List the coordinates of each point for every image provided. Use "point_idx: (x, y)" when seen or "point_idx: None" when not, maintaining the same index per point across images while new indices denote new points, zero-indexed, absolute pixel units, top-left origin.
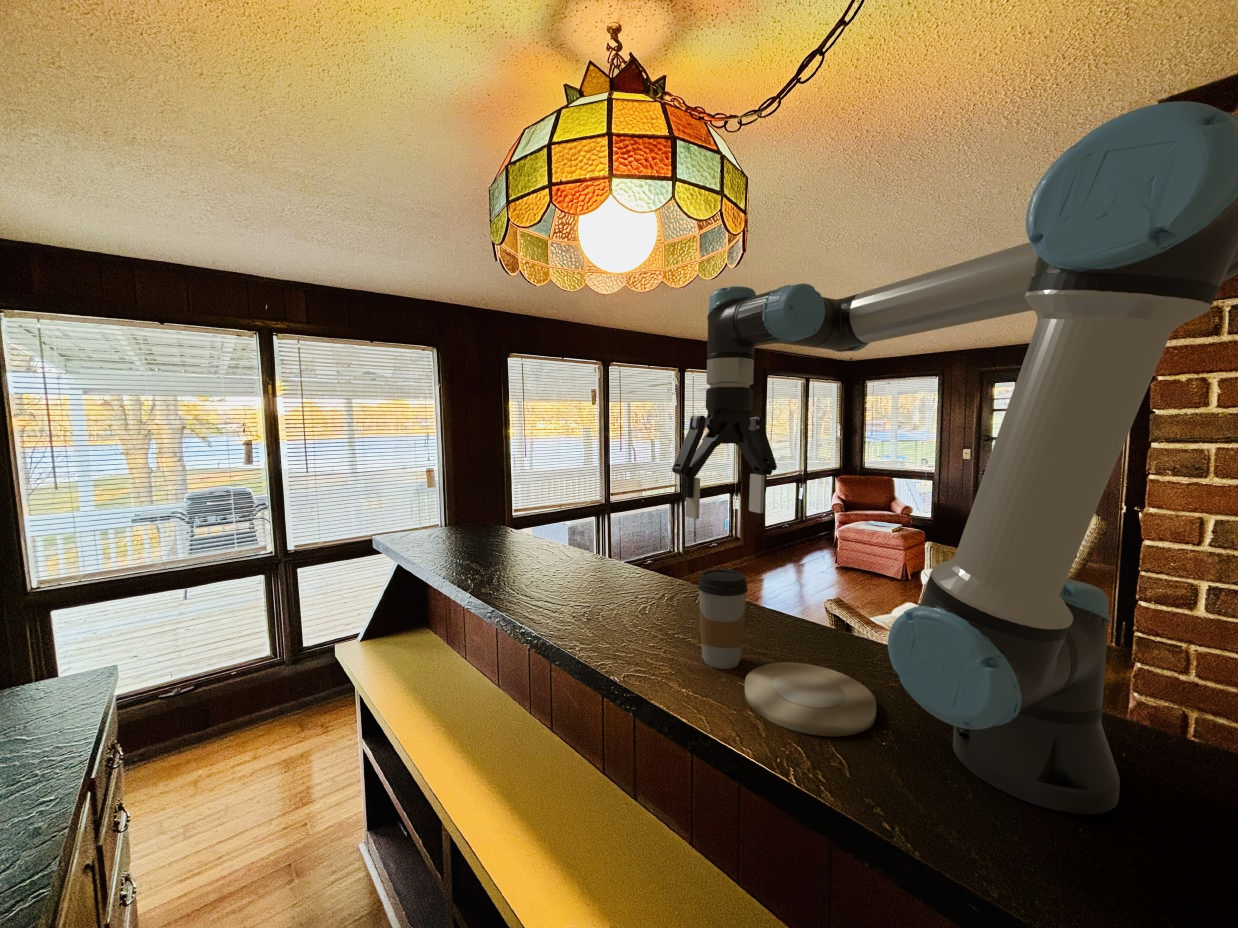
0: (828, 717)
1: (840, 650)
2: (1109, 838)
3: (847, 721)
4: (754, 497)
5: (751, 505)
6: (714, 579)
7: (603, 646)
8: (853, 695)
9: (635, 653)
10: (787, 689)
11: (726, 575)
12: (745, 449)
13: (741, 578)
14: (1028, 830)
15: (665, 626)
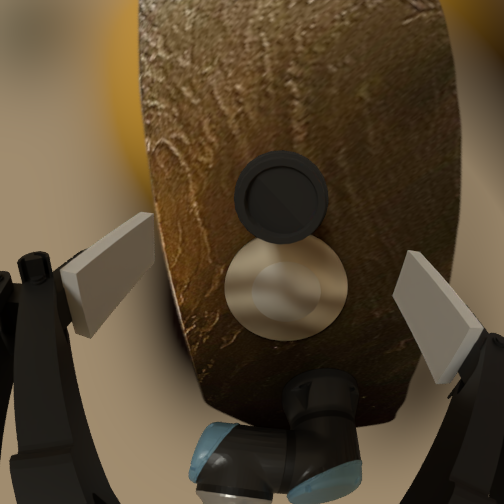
0: (258, 324)
1: (418, 247)
2: (285, 415)
3: (266, 334)
4: (417, 298)
5: (411, 270)
6: (244, 214)
7: (181, 64)
8: (311, 319)
9: (202, 100)
10: (268, 283)
11: (292, 202)
12: (425, 481)
13: (292, 240)
14: (261, 401)
15: (298, 51)
